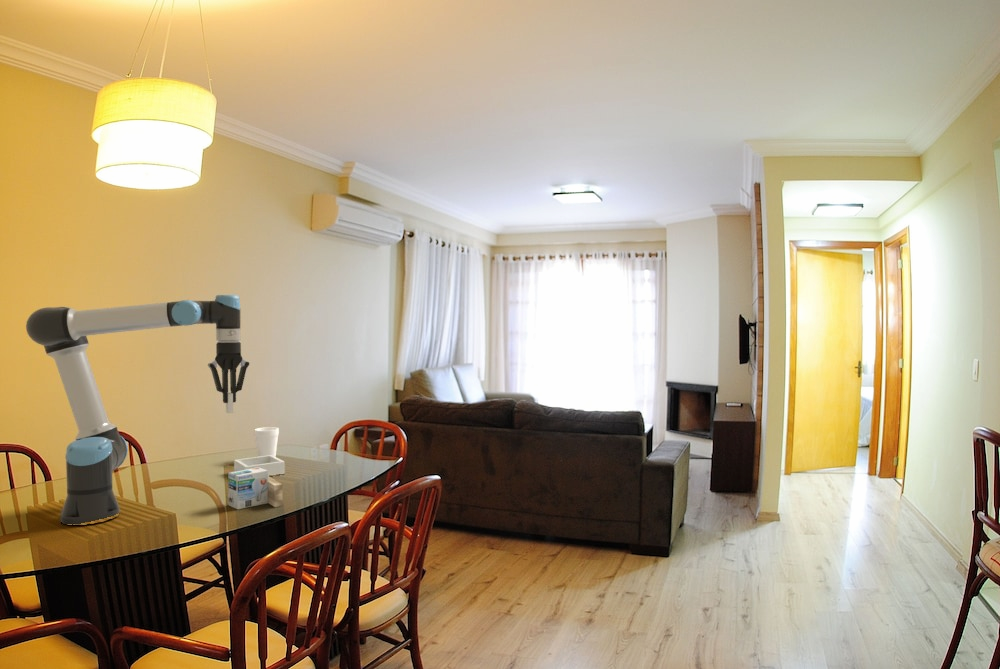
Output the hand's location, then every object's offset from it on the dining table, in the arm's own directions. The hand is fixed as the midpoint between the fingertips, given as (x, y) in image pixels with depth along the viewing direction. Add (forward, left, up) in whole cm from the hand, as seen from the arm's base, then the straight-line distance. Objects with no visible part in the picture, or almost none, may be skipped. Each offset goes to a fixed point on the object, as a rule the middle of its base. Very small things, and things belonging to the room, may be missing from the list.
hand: (229, 412), depth 224 cm
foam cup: (+28, +47, -29) cm, 62 cm away
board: (+9, -10, -29) cm, 31 cm away
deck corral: (+18, +26, -29) cm, 43 cm away
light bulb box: (+2, -11, -29) cm, 31 cm away
